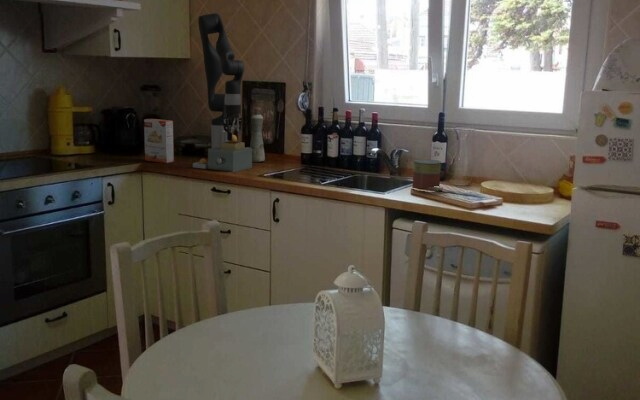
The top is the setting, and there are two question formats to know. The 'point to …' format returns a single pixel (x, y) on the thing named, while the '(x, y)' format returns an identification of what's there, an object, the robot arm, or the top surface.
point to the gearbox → (230, 157)
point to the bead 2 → (233, 139)
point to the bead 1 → (203, 161)
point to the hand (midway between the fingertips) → (232, 139)
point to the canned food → (426, 173)
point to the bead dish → (200, 165)
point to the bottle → (257, 137)
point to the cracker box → (158, 140)
